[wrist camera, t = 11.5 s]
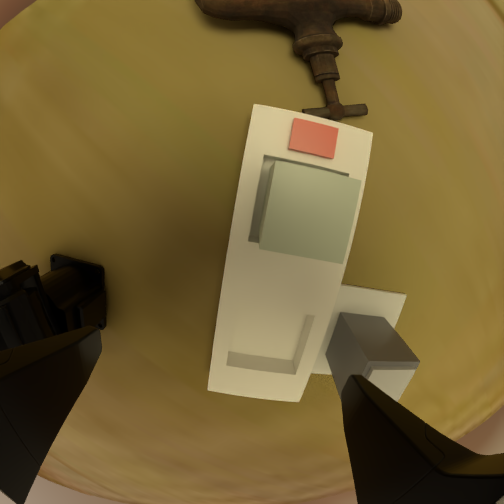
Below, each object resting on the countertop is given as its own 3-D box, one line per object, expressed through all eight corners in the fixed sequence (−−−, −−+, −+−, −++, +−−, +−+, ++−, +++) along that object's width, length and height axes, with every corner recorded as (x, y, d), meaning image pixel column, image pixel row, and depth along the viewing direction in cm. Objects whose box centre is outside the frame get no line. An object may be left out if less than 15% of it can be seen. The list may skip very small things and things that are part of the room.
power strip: (295, 380, 24) (299, 407, 20) (212, 369, 24) (206, 395, 20) (357, 138, 18) (377, 131, 15) (254, 114, 18) (253, 100, 15)
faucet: (367, -15, 14) (410, 117, 19) (190, -7, 14) (224, 141, 20) (387, -35, 10) (442, 115, 15) (181, -35, 10) (221, 138, 15)
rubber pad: (302, 369, 24) (302, 372, 23) (330, 281, 21) (331, 283, 21) (371, 373, 24) (372, 375, 23) (404, 293, 21) (406, 295, 21)
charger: (325, 354, 23) (345, 412, 15) (340, 311, 22) (370, 364, 14) (367, 357, 23) (395, 410, 16) (383, 316, 22) (422, 364, 14)
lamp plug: (258, 228, 19) (259, 248, 14) (270, 167, 18) (275, 160, 12) (318, 239, 19) (342, 264, 14) (331, 180, 18) (361, 180, 13)
